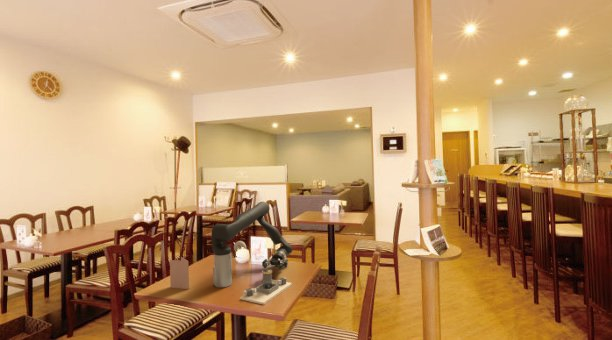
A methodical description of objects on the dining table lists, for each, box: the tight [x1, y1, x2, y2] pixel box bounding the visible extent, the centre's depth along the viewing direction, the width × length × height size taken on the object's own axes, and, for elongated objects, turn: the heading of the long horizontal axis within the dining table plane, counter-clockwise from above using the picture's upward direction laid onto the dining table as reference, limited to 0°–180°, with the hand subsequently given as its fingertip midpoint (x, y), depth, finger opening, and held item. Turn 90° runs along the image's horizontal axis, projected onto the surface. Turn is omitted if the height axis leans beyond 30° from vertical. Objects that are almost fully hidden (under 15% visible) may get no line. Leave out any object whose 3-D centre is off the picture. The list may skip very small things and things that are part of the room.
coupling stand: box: [239, 277, 293, 306], centre depth 154 cm, size 14×26×4 cm, turn 152°
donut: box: [233, 240, 247, 253], centre depth 224 cm, size 10×4×10 cm, turn 71°
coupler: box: [262, 268, 273, 289], centre depth 154 cm, size 5×5×10 cm
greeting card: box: [169, 256, 190, 290], centre depth 163 cm, size 11×7×15 cm, turn 41°
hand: (272, 267), depth 165 cm, fingers open, 8 cm apart
